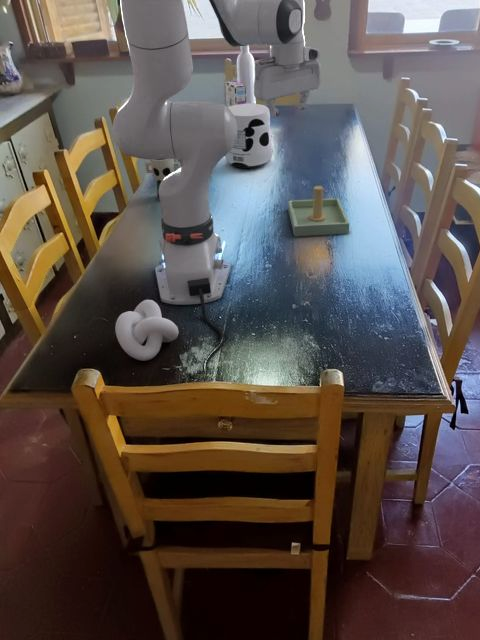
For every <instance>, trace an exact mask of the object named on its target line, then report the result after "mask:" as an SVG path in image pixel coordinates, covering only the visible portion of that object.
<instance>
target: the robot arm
mask: <svg viewBox="0 0 480 640" xmlns="http://www.w3.org/2000/svg"><path fill="white" fill-rule="evenodd" d="M208 1H209V3H210V5H211V7H212V10H213V12H214V13H215V16H216V18H217V21H218V26H219V29H220V33H221V36H222V37H223V38H224V40H225V41H226V43H227V44H228V45H230V46H231V47H234V48H237V47H241V46H247V45H249V46H269V57H267V58H261V59H259V60H258V62H257V63H256V64H255V65H254V70H255V77H254V96H255V98H256V100H257V101H261V102H266V106H267V107H268V108H269V112H270V117H271V118H275V117H278V116H280V113H279V111H280V109H279V108H276V106H275V103H276V99H278V98H283V97H287V96H292V95H296V94H300V95H301V96H300V99H299V101H298V102H297V110H299V111H303V110H306V109H307V101H308V99H309V96H310V91H313V90H318V89H319V88H320V86H321V81H322V69H321V62H320V60H319V59H320V58H321V50H320V49H318V48H314V47H311V46H308V45H306V41H305V40H306V39H305V35H304V25H305V20H306V19H305V18H306V16H305V15H306V12H305V0H208ZM119 2H120V11H121V19H122V24H123V30H124V34H125V39H126V43H127V47H128V51H129V56H130V60H131V61H130V62H131V67H132V74H133V86H132V90H131V94H130V96H129V98H128V100H127V101H126V102H125V103H124V104H123V105H122V106H121V107H120V108H119V109H118V110H117V112H116V114H115V116H114V118H113V122H112V123H113V124H112V134H113V138H114V142H115V144H116V146H117V147H118V149H119V150H120V151H121V152H122V153H123V154H124V155H125V156H126V157H132V158H137V159H143V160H150V159H174V160H178V159H180V160H181V161H182V164H183V166H182V167H181V168H180V169H178V168H177V169H175V170H176V171H175V172H173V173H171V174H169V175H168V176H166V177H165V178H164V179H163V180H162V182H161V183H160V186H159V191H158V192H159V198H158V200H159V203H160V205H159V206H160V210H161V216H162V217H161V219H160V220H161V221H160V223H161V231H162V236H161V237H160V239H159V240H158V242H159V248H160V254H161V260H159V265H157V266H156V267H155V268H154V273H155V277H156V283H157V287H158V293H159V297H160V301H161V302H162V303H165V304H168V305H180V306H181V305H182V306H186V305H188V306H189V305H200V307H201V308H200V309H201V314H202V317H203V319H204V321H205V323H207V325H208V326H210V327H211V328H212V329H213V330H214V331H216V332H217V333H218V334H219V336H220V340H219V343H218V344H217V345H216V347H217V346H218V345H219V344H220V342H221V339H222V337H223V341H222V343H221V344H220V346H219V347H218V348H217V349H216V350H215V351H214V352H213V353H212V354H211V355H210V353H209V354H208V355H207V356H206V358H207V357H208V356H209V355H210V357H209V358H208V360H207V362H206V369H207V371H208V372H209V373H210V371H209V370H208V365H209V362H210V360H211V359H212V358H213V357H214V356H215V355H216V354H217V353H218V352H219V351H220V350H221V349H222V347H223V345H224V343H225V338H226V336H225V333H224V331H223V330H222V329H221V328H220V327H219V326H217V325H216V324H215V323H213V322H212V321H211V320H210V318H209V317H208V315H207V310H206V303H211V302H215V301H216V300H219V299H221V298H222V296H223V293H224V290H225V287H226V284H227V282H228V279H229V275H230V273H231V270H232V263H231V262H229V261H226V260H224V257H223V255H224V254H223V253H224V252H223V251H224V249H225V246H226V241H225V240H223V242H222V238H221V236H219V235H218V234H217V233H216V232H215V231H214V229H215V228H214V219H213V214H212V213H211V209H210V182H211V178H212V175H213V172H214V170H215V168H216V166H217V165H218V164H219V162H220V161H222V159H224V158H225V155H227V154H228V153H229V152H230V151H231V149H232V148H233V146H234V144H235V142H236V138H237V124H236V120H235V118H234V115H233V114H232V112H231V111H230V109H229V108H228V107H227V105H225V104H221V103H216V102H211V101H206V100H205V101H203V100H202V101H199V100H198V101H170V100H169V99H171V98H173V96H176V95H177V94H180V92H182V91H183V90H184V89H185V88H186V87H187V86H188V84H189V83H190V81H191V80H192V78H193V73H194V64H193V56H192V49H191V43H190V35H189V29H188V23H187V18H186V17H187V16H186V13H185V8H184V4H183V0H119ZM206 358H205V359H204V361H203V364H202V371H203V373H204V375H205V371H204V363H205V360H206Z"/></svg>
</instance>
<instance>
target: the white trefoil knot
mask: <svg viewBox="0 0 480 640" xmlns="http://www.w3.org/2000/svg"><path fill="white" fill-rule="evenodd" d="M114 327H115V331H114V332H115V336H116V339H117V341H118V344H119V345H120V347H121V348H122V349H123V351H124V352H125V353H126V354H127V355H128V356H129V357H131V358H132V359H135V360H138V361H142V362H143V361H144V362H146V361H150V360H152V359H154V358H155V357H156V356H157V355H158V354H159V352H160V350H161V348H162V345H163V344H162V343H171V342H173V341H175V340H176V339H177V338H178V336H179V333H180V331H179V328H178V326H177V325H176V324H175V323H174V322H173V321H172V320H170V319H168V318H165V317H163V316H162V311H161V308H160V306H159V304H158V303H157V302H155V301H154V300H153V299H144V300H143V301H141V302H139V304H137V305H136V307H135V308H134V310H133V311H131V310H128V311H125V312H122V313H121V314H120V315H119V316H118V317H117V319H116V321H115V326H114ZM145 341H146V343H145ZM144 343H145V344H144ZM143 344H144V345H143Z"/></svg>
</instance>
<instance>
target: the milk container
mask: <svg viewBox="0 0 480 640" xmlns="http://www.w3.org/2000/svg"><path fill="white" fill-rule="evenodd" d="M228 108H229V109H230V111H231V112H232V114H233V115H234V118H235V120H236V124H237V138H236V142H235V144H234V146H233V148H232V149H231V151H230V152H229V153H228V154H227V155H225V156H224V158H225V161H226V162H227V163H228V164H229V165H231V166H233V167H235V168H241V169H253V168H258V167H262V166H264V165H267V164H268V163H269V162H271V160H272V158H273V154H274V146H273V141H272V138H271V115H270V108H269V107H268V105H264V104H259V103H256V104H239V105H234V106H230V107H228Z"/></svg>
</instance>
